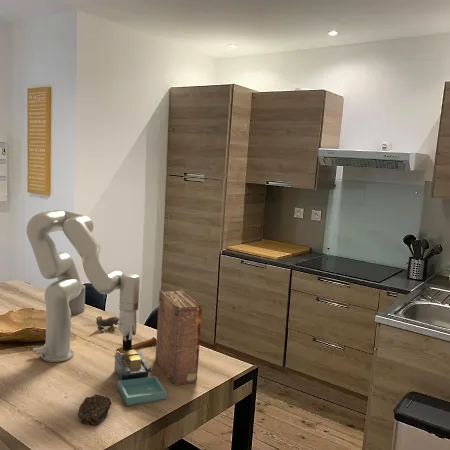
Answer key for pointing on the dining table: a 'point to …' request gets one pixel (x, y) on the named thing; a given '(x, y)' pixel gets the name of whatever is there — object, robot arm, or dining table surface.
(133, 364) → the tan wooden block
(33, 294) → the dining table surface
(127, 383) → the tray
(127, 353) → the tan wooden cube
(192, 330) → the book
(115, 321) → the dog figurine
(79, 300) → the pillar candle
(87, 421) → the dark brown rock
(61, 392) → the dining table surface
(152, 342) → the primitive tool
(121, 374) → the grey block holder
